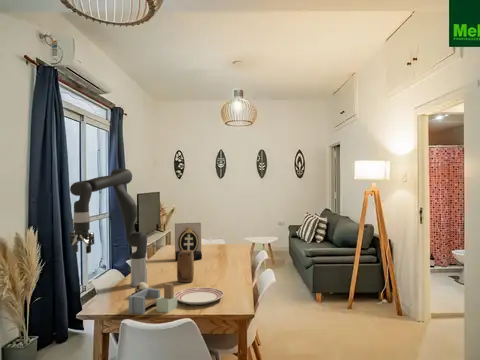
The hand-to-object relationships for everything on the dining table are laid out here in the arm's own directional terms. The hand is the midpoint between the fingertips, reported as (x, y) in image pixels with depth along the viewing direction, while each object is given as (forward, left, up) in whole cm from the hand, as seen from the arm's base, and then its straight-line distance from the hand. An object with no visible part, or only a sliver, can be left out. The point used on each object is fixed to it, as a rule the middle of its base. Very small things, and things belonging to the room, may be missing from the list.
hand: (81, 252), depth 178 cm
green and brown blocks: (-16, +40, -29) cm, 52 cm away
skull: (-29, +14, -30) cm, 44 cm away
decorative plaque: (-118, -8, -29) cm, 122 cm away
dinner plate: (-35, +48, -30) cm, 67 cm away
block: (-62, +23, -29) cm, 72 cm away
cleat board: (-13, +29, -29) cm, 43 cm away
